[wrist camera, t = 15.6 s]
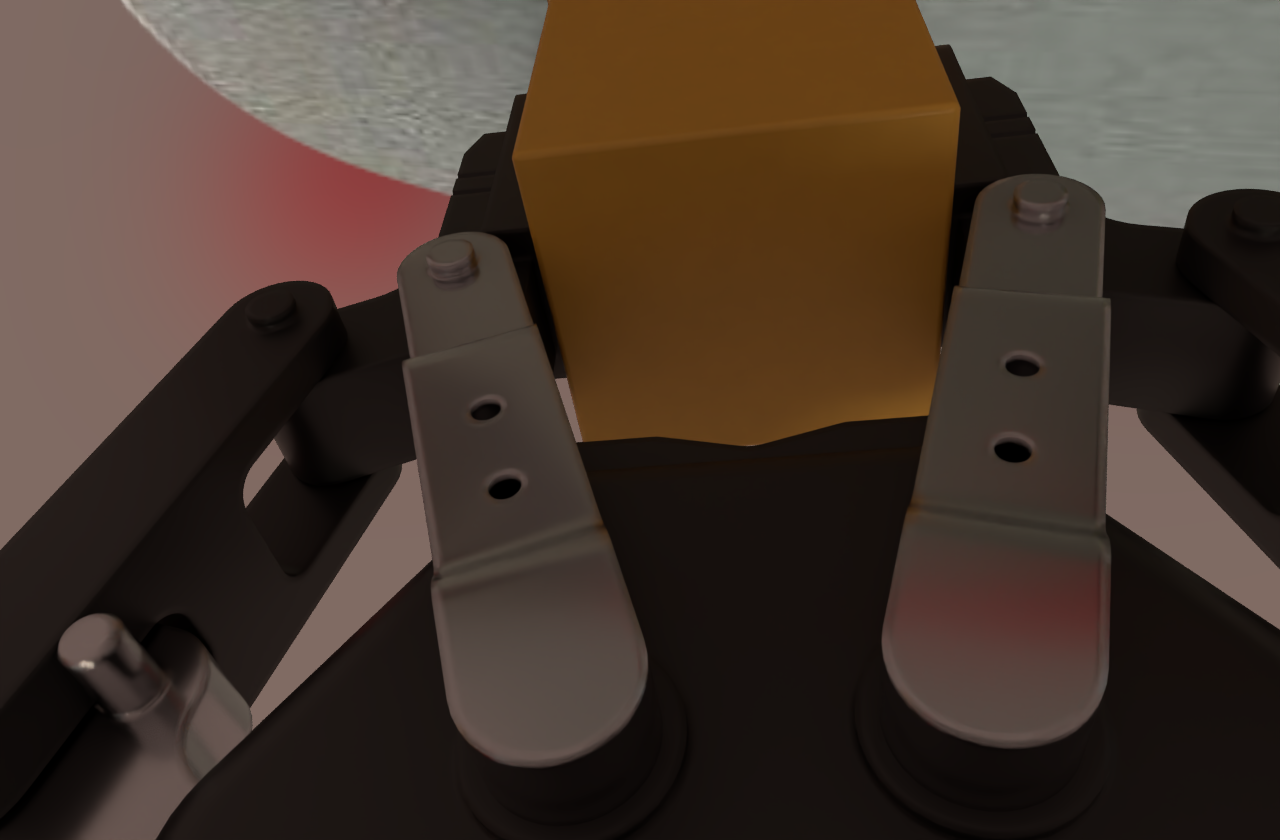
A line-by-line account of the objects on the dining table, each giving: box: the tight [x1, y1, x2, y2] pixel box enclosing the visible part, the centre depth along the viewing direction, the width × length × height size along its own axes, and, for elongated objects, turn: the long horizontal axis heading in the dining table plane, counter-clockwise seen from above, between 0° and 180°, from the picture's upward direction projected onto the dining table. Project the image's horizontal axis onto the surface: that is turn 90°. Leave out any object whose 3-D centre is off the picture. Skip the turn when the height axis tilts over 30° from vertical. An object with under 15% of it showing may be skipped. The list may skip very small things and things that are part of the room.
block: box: [512, 0, 961, 446], centre depth 13 cm, size 4×4×4 cm
